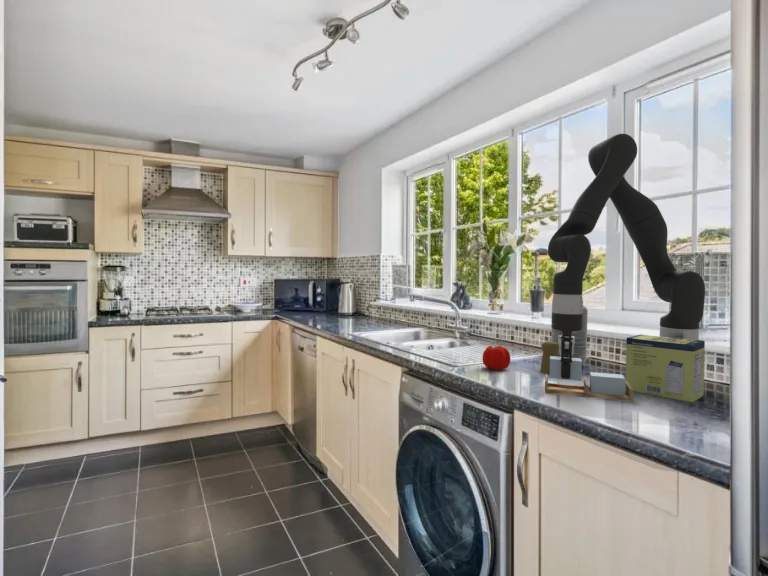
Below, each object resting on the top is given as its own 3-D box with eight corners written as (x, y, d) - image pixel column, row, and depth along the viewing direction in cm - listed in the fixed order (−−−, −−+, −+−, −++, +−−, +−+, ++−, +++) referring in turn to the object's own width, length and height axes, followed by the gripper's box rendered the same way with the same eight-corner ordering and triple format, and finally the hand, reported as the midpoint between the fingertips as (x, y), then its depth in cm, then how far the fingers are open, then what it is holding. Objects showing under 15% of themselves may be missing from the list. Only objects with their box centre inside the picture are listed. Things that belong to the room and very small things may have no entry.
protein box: (637, 388, 123) (639, 333, 122) (704, 400, 111) (706, 340, 110) (623, 395, 116) (625, 337, 115) (693, 408, 104) (695, 344, 103)
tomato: (500, 365, 152) (501, 344, 152) (514, 371, 143) (515, 348, 143) (476, 366, 149) (477, 345, 149) (489, 372, 141) (489, 349, 141)
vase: (577, 369, 146) (578, 301, 145) (544, 364, 154) (546, 300, 154) (592, 365, 153) (593, 300, 153) (560, 359, 162) (561, 298, 161)
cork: (561, 379, 132) (562, 343, 132) (540, 378, 133) (541, 342, 133) (557, 374, 138) (558, 340, 138) (538, 373, 139) (538, 339, 139)
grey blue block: (580, 377, 114) (580, 358, 114) (581, 380, 110) (581, 361, 110) (549, 374, 117) (550, 356, 117) (549, 378, 113) (549, 359, 113)
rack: (626, 398, 112) (626, 380, 112) (632, 408, 104) (632, 389, 104) (545, 390, 120) (545, 373, 120) (544, 399, 111) (544, 381, 111)
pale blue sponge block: (622, 394, 111) (622, 374, 111) (624, 398, 107) (625, 378, 106) (589, 390, 113) (590, 372, 113) (590, 395, 109) (591, 375, 109)
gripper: (584, 314, 105) (582, 384, 106) (581, 310, 118) (579, 372, 119) (551, 313, 108) (549, 381, 108) (552, 309, 121) (550, 369, 122)
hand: (565, 376), depth 114 cm, fingers closed on grey blue block, 4 cm apart
